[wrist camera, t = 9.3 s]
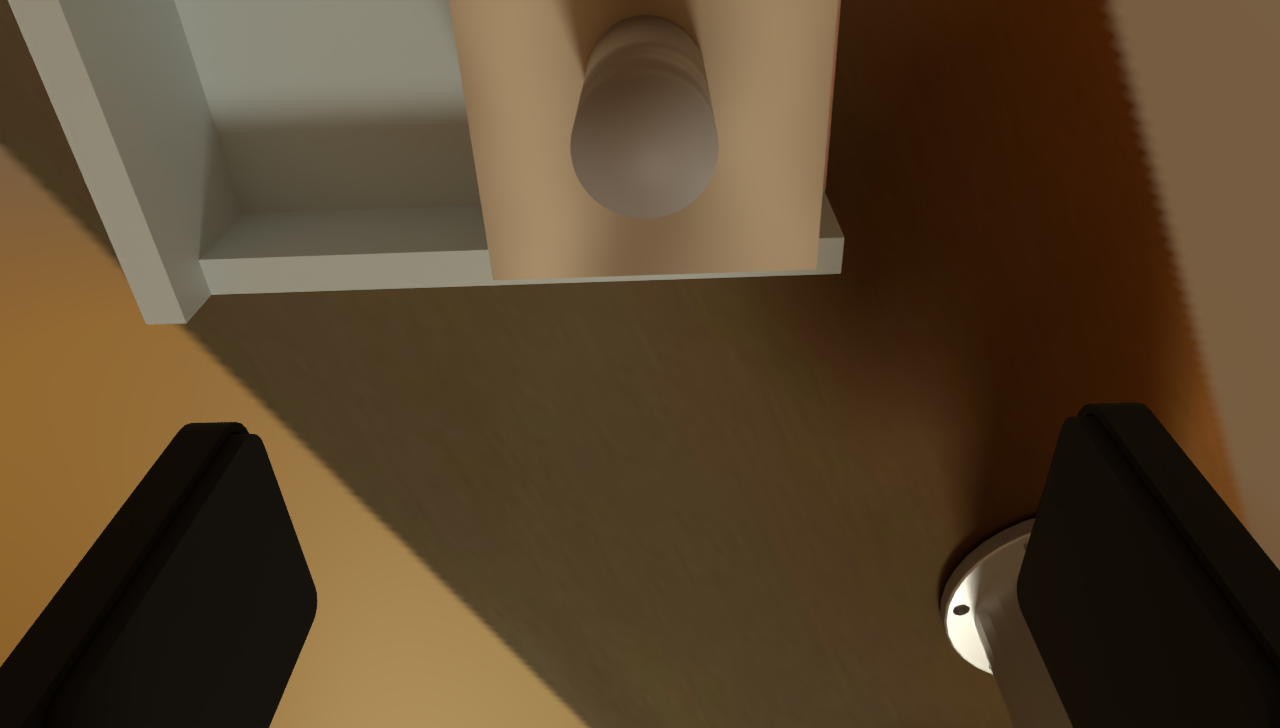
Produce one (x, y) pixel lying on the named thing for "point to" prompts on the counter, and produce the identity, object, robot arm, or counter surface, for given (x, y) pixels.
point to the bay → (281, 145)
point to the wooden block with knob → (647, 133)
